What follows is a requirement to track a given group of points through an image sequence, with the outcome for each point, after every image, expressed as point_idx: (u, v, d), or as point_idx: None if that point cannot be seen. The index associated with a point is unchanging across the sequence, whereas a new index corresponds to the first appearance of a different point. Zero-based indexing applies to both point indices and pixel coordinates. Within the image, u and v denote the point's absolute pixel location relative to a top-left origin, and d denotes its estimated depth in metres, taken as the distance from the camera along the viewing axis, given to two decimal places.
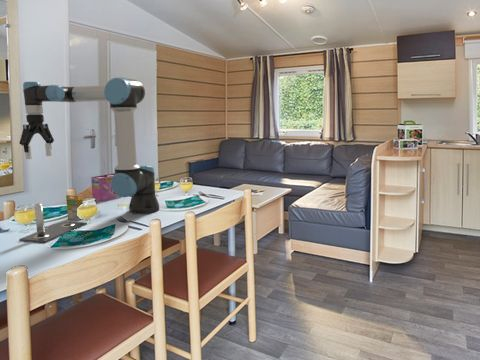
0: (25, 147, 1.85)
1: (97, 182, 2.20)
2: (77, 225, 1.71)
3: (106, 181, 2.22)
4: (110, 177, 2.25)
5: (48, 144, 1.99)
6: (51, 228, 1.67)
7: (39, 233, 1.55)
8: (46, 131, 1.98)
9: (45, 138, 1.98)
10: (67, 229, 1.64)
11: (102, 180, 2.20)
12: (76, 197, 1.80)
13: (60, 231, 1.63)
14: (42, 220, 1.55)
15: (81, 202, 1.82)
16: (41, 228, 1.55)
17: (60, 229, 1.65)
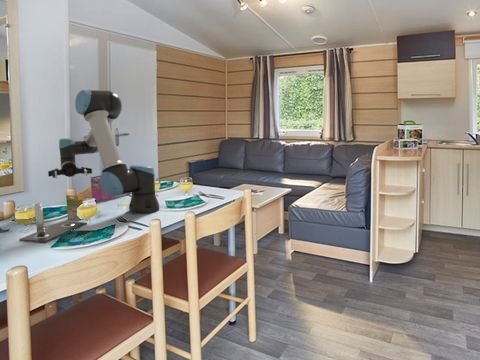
0: (52, 173, 1.91)
1: (96, 182, 2.20)
2: (77, 225, 1.71)
3: None
4: None
5: (84, 170, 1.98)
6: (51, 228, 1.67)
7: (39, 233, 1.55)
8: None
9: (81, 170, 2.00)
10: (67, 229, 1.64)
11: None
12: (76, 197, 1.80)
13: (60, 231, 1.63)
14: (42, 220, 1.55)
15: (81, 202, 1.82)
16: (41, 228, 1.55)
17: (60, 229, 1.65)
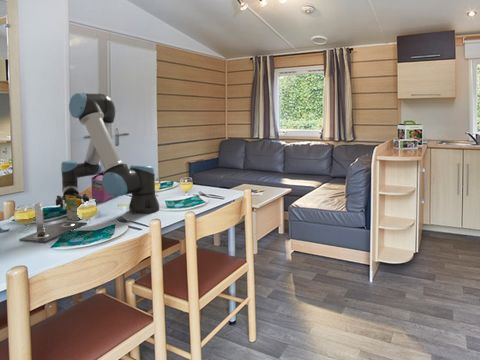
0: (60, 203, 1.82)
1: (99, 184, 2.15)
2: (77, 225, 1.71)
3: None
4: None
5: None
6: (51, 228, 1.67)
7: (39, 233, 1.55)
8: None
9: None
10: (67, 229, 1.64)
11: None
12: (75, 197, 1.80)
13: (60, 231, 1.63)
14: (42, 220, 1.55)
15: (80, 202, 1.82)
16: (41, 228, 1.55)
17: (60, 229, 1.65)
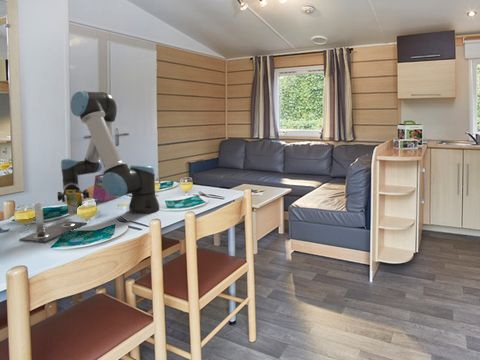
0: (62, 198, 1.81)
1: None
2: (77, 225, 1.71)
3: None
4: None
5: None
6: (51, 228, 1.67)
7: (39, 233, 1.55)
8: None
9: None
10: (67, 229, 1.64)
11: None
12: (74, 191, 1.79)
13: (60, 231, 1.63)
14: (42, 220, 1.55)
15: (80, 196, 1.80)
16: (41, 228, 1.55)
17: (60, 229, 1.65)
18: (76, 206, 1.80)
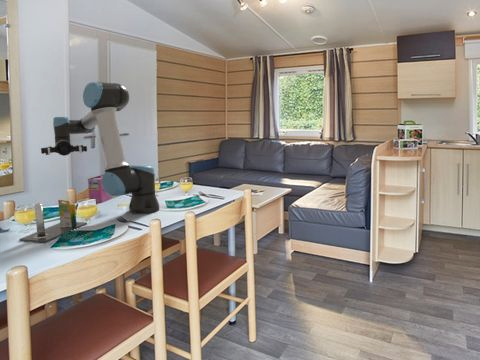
0: (45, 150, 1.83)
1: (95, 183, 2.16)
2: (77, 225, 1.71)
3: None
4: None
5: None
6: (51, 228, 1.67)
7: (39, 233, 1.55)
8: None
9: (76, 148, 1.92)
10: (67, 229, 1.64)
11: (101, 181, 2.17)
12: (68, 202, 1.66)
13: (60, 231, 1.63)
14: (42, 220, 1.55)
15: (73, 208, 1.68)
16: (41, 228, 1.55)
17: (60, 229, 1.65)
18: (69, 218, 1.67)
